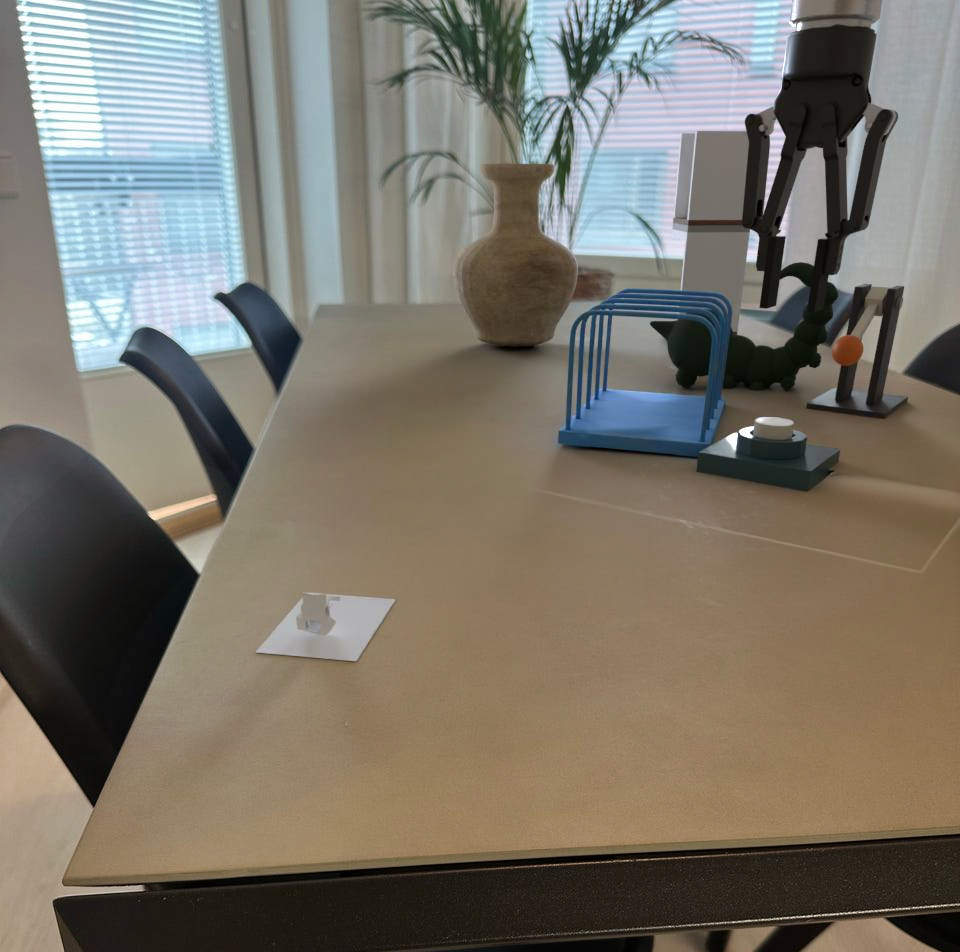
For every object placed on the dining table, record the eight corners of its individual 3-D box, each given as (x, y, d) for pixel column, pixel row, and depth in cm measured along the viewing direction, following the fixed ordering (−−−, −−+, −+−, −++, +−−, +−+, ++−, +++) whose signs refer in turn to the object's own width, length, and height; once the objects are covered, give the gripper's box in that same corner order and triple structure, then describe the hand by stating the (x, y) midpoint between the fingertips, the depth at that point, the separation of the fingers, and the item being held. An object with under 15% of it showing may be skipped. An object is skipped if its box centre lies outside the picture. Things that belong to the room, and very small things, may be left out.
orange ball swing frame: (883, 425, 116) (909, 293, 109) (804, 414, 121) (825, 288, 114) (906, 407, 125) (932, 284, 117) (832, 398, 130) (853, 280, 123)
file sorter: (708, 461, 102) (725, 316, 95) (556, 448, 106) (562, 309, 99) (724, 411, 123) (739, 290, 116) (598, 402, 128) (604, 285, 120)
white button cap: (796, 436, 97) (799, 420, 96) (784, 444, 94) (786, 427, 93) (760, 431, 99) (762, 415, 98) (746, 438, 96) (749, 422, 96)
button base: (837, 469, 99) (843, 432, 97) (807, 492, 92) (814, 453, 90) (731, 451, 105) (736, 416, 103) (696, 472, 98) (700, 435, 96)
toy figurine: (810, 399, 136) (645, 373, 143) (845, 264, 127) (668, 243, 134) (808, 413, 128) (634, 385, 135) (845, 270, 119) (657, 247, 126)
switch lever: (856, 373, 111) (858, 347, 108) (827, 369, 113) (828, 344, 110) (893, 309, 118) (896, 283, 115) (865, 307, 119) (866, 281, 117)
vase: (513, 360, 156) (516, 163, 142) (429, 344, 171) (425, 164, 157) (599, 345, 169) (609, 163, 156) (515, 331, 184) (517, 164, 170)
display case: (719, 334, 182) (742, 133, 166) (736, 342, 172) (762, 131, 156) (663, 334, 181) (680, 133, 165) (676, 343, 171) (696, 131, 156)
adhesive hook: (295, 637, 63) (290, 595, 62) (308, 621, 65) (304, 581, 64) (337, 640, 63) (333, 599, 61) (348, 624, 65) (345, 584, 63)
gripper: (723, 31, 82) (695, 306, 93) (926, 14, 73) (869, 320, 84) (753, 40, 87) (724, 298, 98) (946, 25, 78) (890, 311, 89)
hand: (791, 308), depth 91 cm, fingers open, 4 cm apart
